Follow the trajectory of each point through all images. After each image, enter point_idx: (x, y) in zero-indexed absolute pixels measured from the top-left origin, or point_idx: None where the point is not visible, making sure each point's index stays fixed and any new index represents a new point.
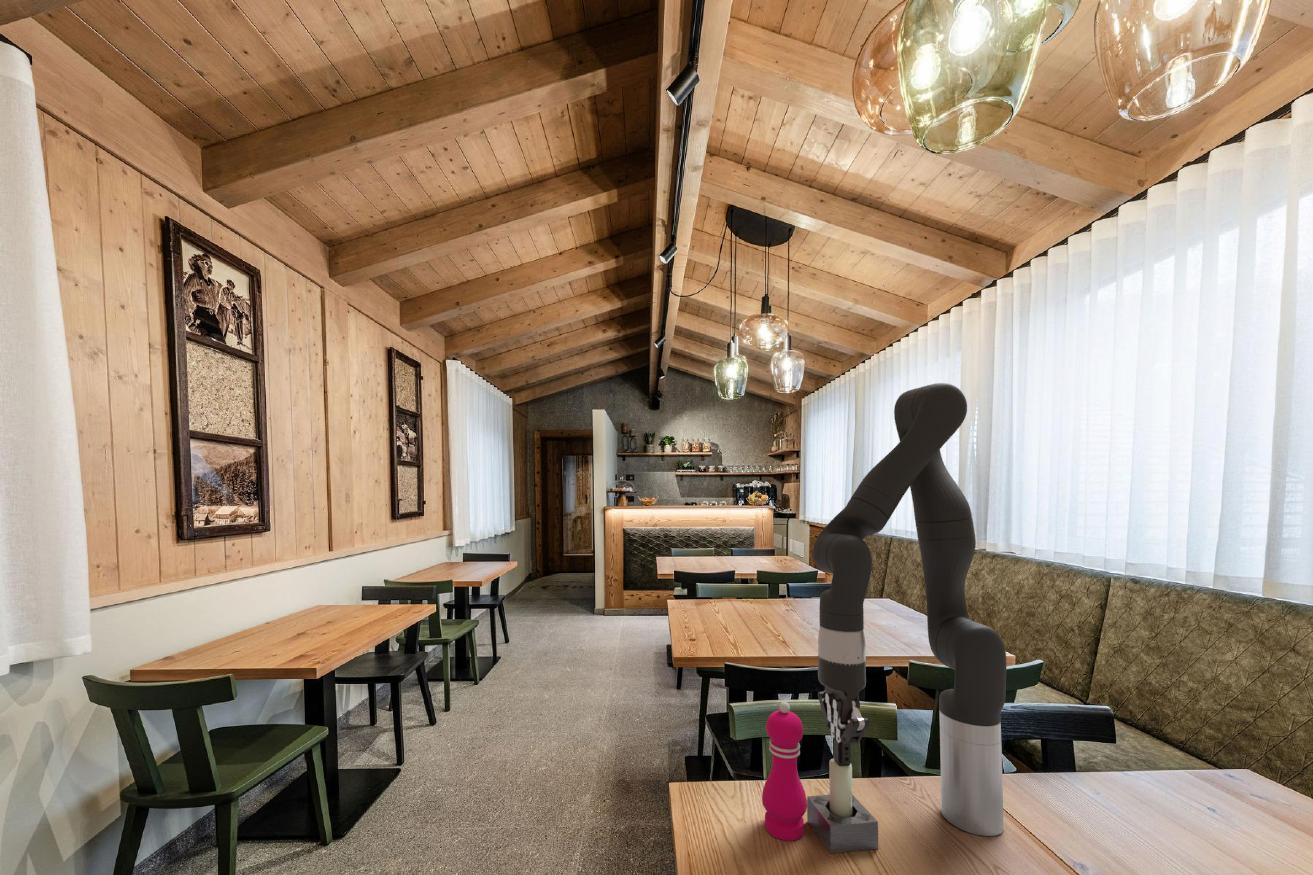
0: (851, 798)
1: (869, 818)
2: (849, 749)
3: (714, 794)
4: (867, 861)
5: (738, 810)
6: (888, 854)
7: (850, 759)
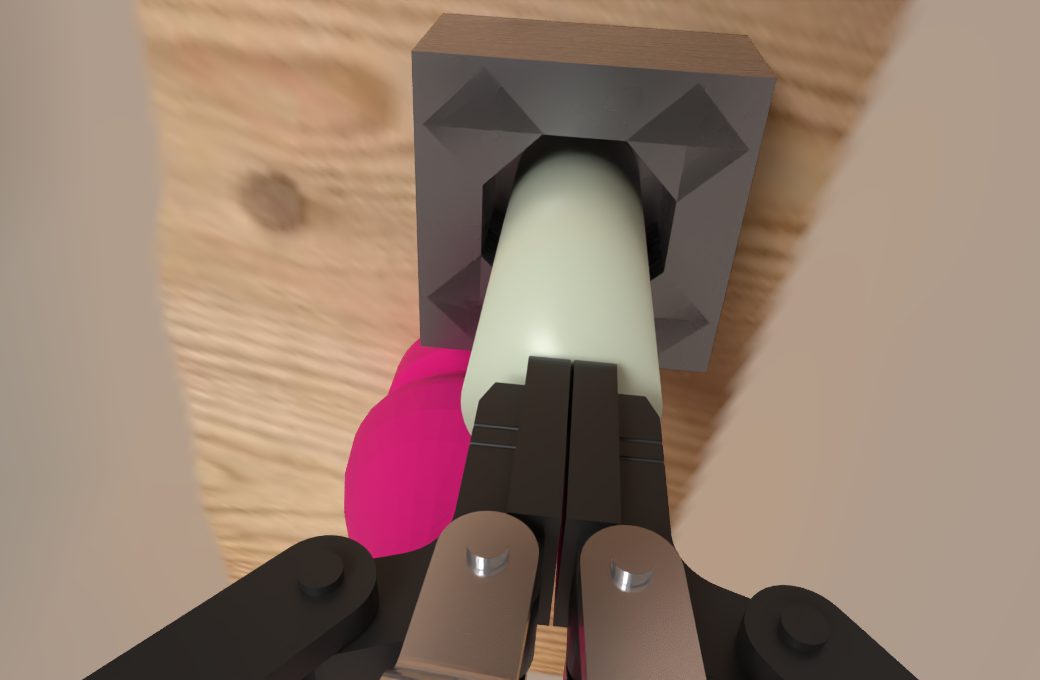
0: (637, 235)
1: (722, 112)
2: (663, 509)
3: (222, 524)
4: (807, 162)
5: (336, 490)
6: (810, 3)
7: (657, 425)
